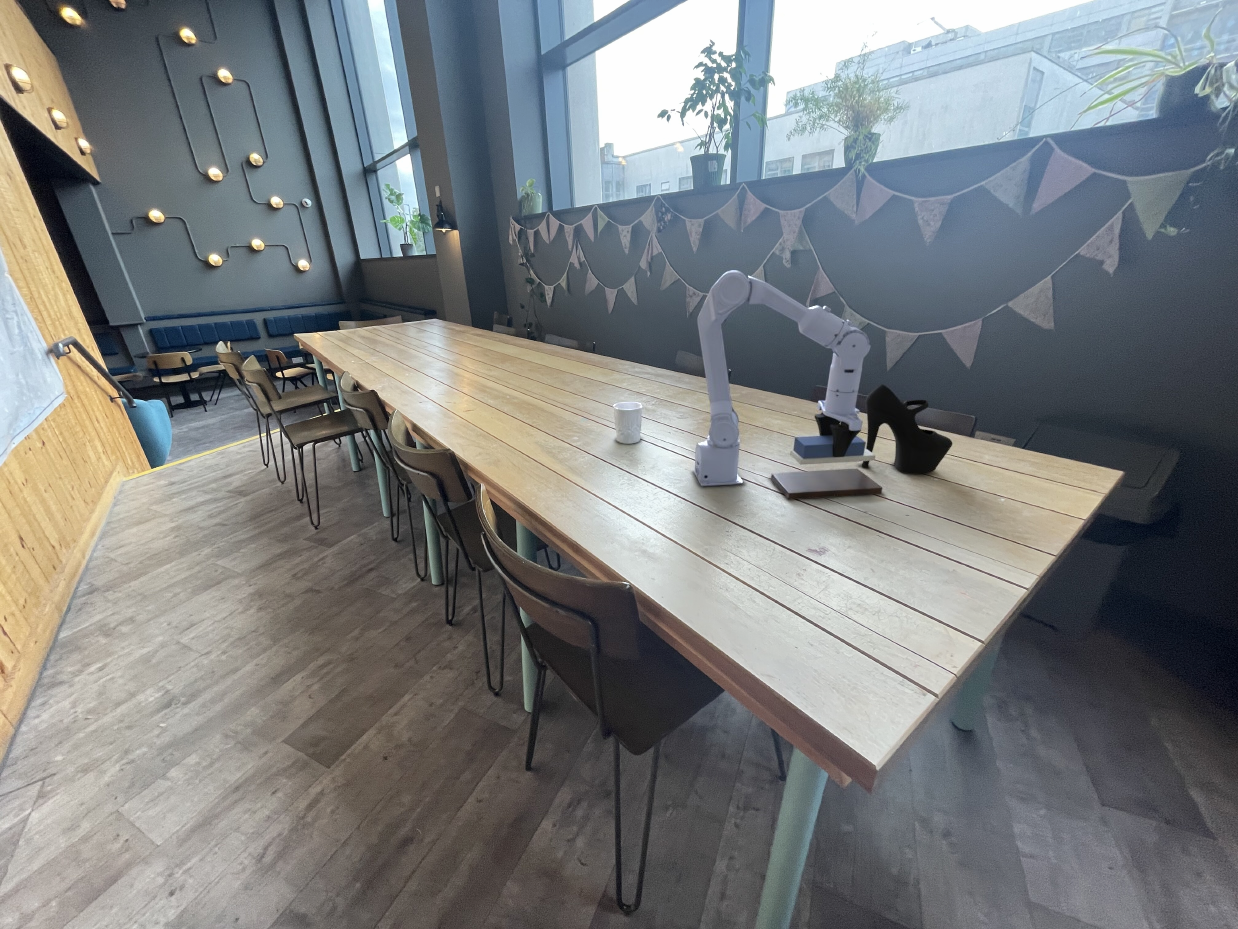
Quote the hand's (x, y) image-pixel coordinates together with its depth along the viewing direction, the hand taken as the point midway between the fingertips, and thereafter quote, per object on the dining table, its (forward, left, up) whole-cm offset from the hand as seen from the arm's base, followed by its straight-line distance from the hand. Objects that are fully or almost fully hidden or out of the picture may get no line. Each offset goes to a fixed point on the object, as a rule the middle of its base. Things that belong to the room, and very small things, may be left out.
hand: (832, 451), depth 100 cm
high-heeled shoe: (+20, +6, -8) cm, 23 cm away
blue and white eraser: (0, 0, -1) cm, 1 cm away
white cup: (-41, +34, -8) cm, 54 cm away
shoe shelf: (-1, -1, -8) cm, 8 cm away
